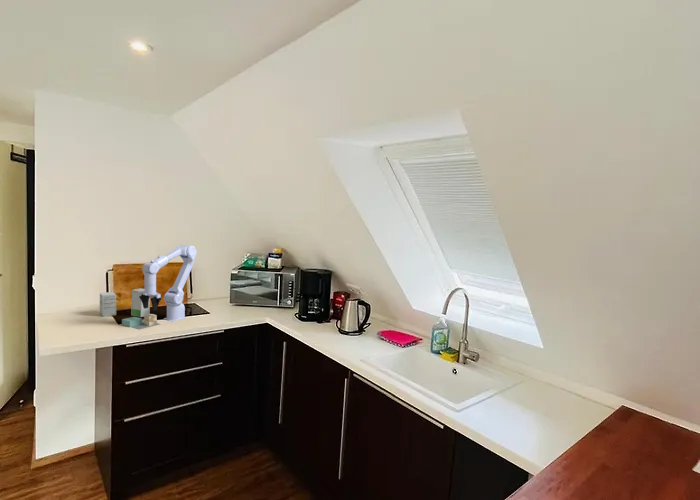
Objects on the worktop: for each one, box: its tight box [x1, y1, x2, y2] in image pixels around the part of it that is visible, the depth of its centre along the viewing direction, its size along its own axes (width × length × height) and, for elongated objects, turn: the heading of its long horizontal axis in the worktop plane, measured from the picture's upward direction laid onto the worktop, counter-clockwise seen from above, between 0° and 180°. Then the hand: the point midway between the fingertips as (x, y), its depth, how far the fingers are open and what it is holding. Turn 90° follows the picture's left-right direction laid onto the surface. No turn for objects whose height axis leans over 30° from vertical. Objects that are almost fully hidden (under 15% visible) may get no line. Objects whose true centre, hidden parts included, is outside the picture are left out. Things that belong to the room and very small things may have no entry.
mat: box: [120, 318, 161, 330], centre depth 231 cm, size 13×16×1 cm
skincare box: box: [130, 287, 151, 318], centre depth 249 cm, size 8×7×16 cm
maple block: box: [143, 313, 158, 326], centre depth 232 cm, size 4×4×5 cm
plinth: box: [121, 316, 143, 328], centre depth 230 cm, size 7×7×3 cm
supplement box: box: [99, 291, 117, 317], centre depth 248 cm, size 7×7×13 cm
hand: (150, 309), depth 231 cm, fingers open, 7 cm apart
